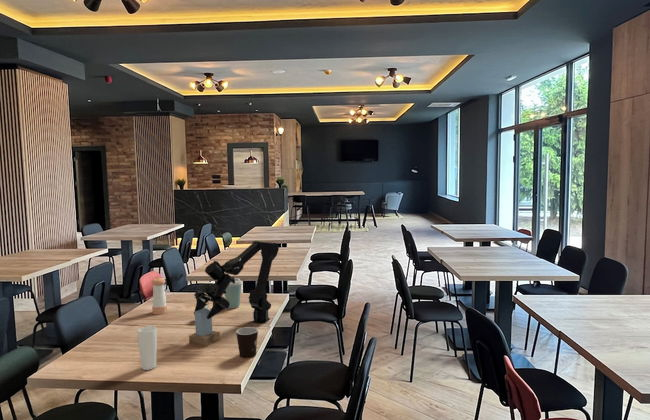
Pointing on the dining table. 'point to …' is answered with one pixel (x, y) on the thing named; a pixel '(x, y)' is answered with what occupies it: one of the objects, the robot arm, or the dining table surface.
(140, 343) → the drinking glass
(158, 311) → the salt shaker
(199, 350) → the dining table surface
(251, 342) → the coffee mug
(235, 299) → the disposable coffee cup
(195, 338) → the walnut block
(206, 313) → the blue block
